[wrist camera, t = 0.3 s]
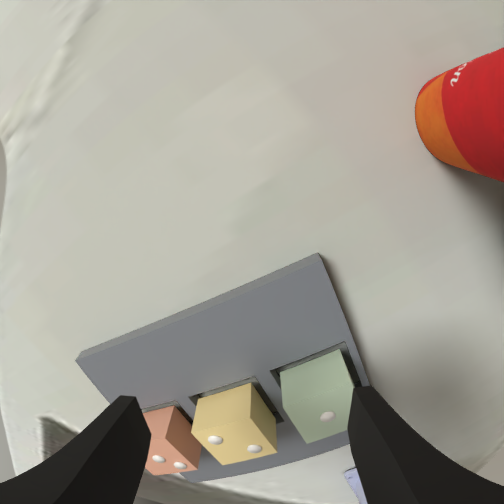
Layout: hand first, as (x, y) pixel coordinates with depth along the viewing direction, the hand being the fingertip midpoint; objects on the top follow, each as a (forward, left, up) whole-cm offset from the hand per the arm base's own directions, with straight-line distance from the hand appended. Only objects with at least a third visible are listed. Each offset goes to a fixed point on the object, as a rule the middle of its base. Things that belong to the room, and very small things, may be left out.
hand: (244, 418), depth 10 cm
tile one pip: (-7, -2, -9) cm, 12 cm away
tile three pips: (-7, +11, -9) cm, 15 cm away
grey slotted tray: (-7, +5, -10) cm, 13 cm away
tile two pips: (-7, +4, -9) cm, 12 cm away
